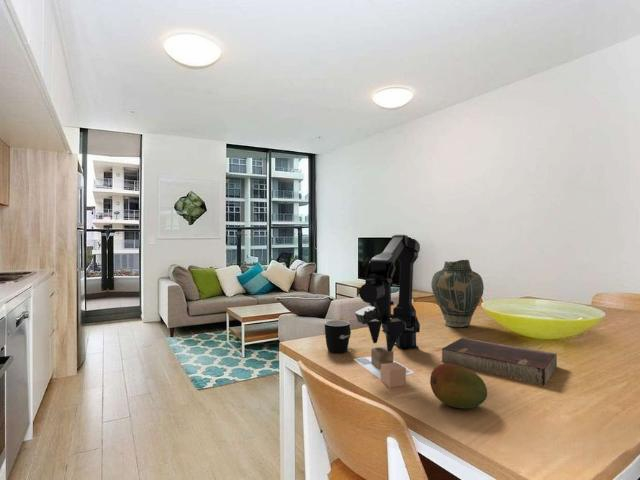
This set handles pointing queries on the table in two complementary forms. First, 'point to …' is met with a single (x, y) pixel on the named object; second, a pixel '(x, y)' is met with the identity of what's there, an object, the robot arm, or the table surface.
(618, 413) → the table surface
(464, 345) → the hardback book
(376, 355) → the walnut block
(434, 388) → the fruit
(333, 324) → the mug
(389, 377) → the block
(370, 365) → the envelope
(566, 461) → the table surface
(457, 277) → the vase
